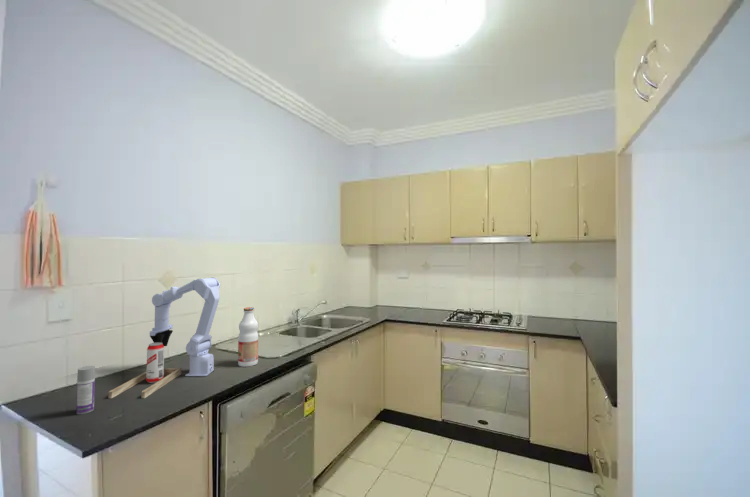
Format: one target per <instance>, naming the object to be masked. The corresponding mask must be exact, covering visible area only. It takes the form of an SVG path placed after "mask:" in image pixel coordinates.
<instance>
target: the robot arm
mask: <svg viewBox="0 0 750 497" xmlns="http://www.w3.org/2000/svg"><path fill="white" fill-rule="evenodd" d="M220 288H221V283H220V281H219V280H218V278H216V277H206V278H205V277H204V278H196V279H195V280H194V279H193V280H192V281H190V282H188V283H186V284H184V285H182V286H180V287H179V286H170V289H168V290H164V291H162V293H155V294H154V295H153V296H152V297H151V303H152V304H153V306H154V327H152V328H151V330H150V331H149V337H150V339H151V340H152V343H156V342H162V343H163V345H164V347H167V346H168V343H169V340H170V337H171V335H172V333H173V332H174V331H173V328H174V327H173V325H174V324H170V308H171V304H172V303H173V302H176V301H177V300H179V299H182V298H183V295H184V294H186V293H189V292H192V291H195V292H196V293H197V294H198V295H199V296H200V297H201V298H202V299H204V304H203V307H202V312H201V313H200V317H199V321H198V324H197V327H196V331H195V333H194V334H193V335H192V336H191V337H190V339H189V341H188V343H187V344H186V346H185V350H186V351H185V352H186V353H187V354H188V356H189V372H188V373H186V374H185V377H207V376H209V375H210V374H211V373H213V371H215V369H214V364H215V361H214V360H215V357H214V354H213V353H209V350H210V349H211V347H212V336H211V334H210V332H211V328H212V325H213V322H214V319H215V315H216V311H217V308H218V305H219V301H220Z"/></svg>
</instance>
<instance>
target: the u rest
mask: <svg viewBox="0 0 750 497" xmlns="http://www.w3.org/2000/svg"><path fill="white" fill-rule="evenodd" d="M146 372H147V370H146V371H144V372H143V373H141V374H138V375H137V376H135V377H133V378H131V379H129V380H128V381H126V382H124V383H122V384H121V385H119V386H117V387H115V388H113V389H110V390H109V391H108V399H113V398H115V397H117V396H118V395H120V394H122V393H124V392H125V391H127V390H129V389H131V388H132V387H134V386H136V385H138V384H139V383H141V382H143V381H145V380H146ZM180 375H182V368H164V378H163V379H161V380H160V381H158V382H156V383H152V385H150V386H148V387H147V388H145V389H143V390H142V391H141V396H140V397H141V399H146V398H147V397H149V396H150V395H152V394H154V393H155V392H156V391H158V390H159V389H161V388H162V387H164V386H165V385H167V384H168V383H170V382H172V381H173V380H174V379H176V378H178V377H179V376H180Z"/></svg>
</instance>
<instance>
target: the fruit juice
mask: <svg viewBox="0 0 750 497" xmlns="http://www.w3.org/2000/svg"><path fill="white" fill-rule="evenodd" d="M254 312H255V308H254V307H250V306H249V307H244V308H243V313H244V314H243V317H242V319H241V321H240V322H239V324H238V329H239V333H238V337H237V338H238V339H237V341H238V342H237V343H238V344H237V345H238V346H237V365H238V366H239V367H244V368H247V367H253V366H255V365H257V364H258V363H259V332H258V330H259V322H258V321H257V319H256V318H255V314H254Z"/></svg>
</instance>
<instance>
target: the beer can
mask: <svg viewBox="0 0 750 497" xmlns="http://www.w3.org/2000/svg"><path fill="white" fill-rule="evenodd" d="M164 363H165V346H164V345H163V343H162V342H156V343H154V342H151V343H148V345H147V349H146V371H147V372H146V371H145V372H146V379H145V380H146V382H147V383H148V384H155V383H156V382H158V381H160V380H161V379H163V378H164V377H165V375H164V369H165V368H164V367H165V364H164Z"/></svg>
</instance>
